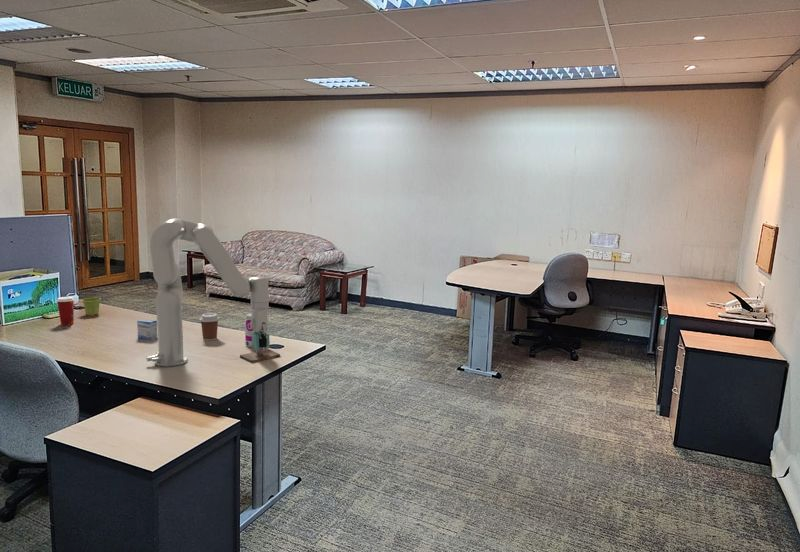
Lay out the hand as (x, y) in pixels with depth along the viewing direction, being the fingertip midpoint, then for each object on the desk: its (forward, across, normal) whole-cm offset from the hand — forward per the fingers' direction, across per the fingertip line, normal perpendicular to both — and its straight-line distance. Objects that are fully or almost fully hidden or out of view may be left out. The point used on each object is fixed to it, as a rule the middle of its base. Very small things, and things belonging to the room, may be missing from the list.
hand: (260, 344), depth 235 cm
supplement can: (+6, -18, +2) cm, 19 cm away
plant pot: (+5, -115, -61) cm, 130 cm away
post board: (+6, 0, 0) cm, 6 cm away
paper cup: (+5, -96, -73) cm, 121 cm away
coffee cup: (+6, -38, -14) cm, 41 cm away
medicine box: (+5, -52, -40) cm, 66 cm away
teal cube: (+1, 0, 0) cm, 1 cm away
